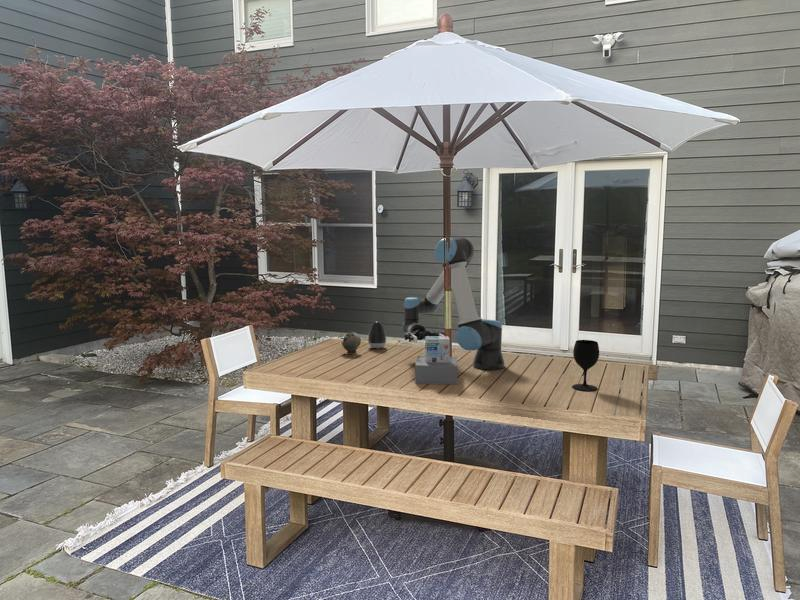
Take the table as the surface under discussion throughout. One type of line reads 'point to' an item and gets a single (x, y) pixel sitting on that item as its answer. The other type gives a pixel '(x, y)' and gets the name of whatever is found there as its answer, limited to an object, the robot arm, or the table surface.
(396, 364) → the table surface
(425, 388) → the table surface
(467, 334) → the robot arm
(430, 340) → the light bulb box
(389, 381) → the table surface
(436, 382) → the grey block
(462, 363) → the table surface
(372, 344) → the black tapered dome
